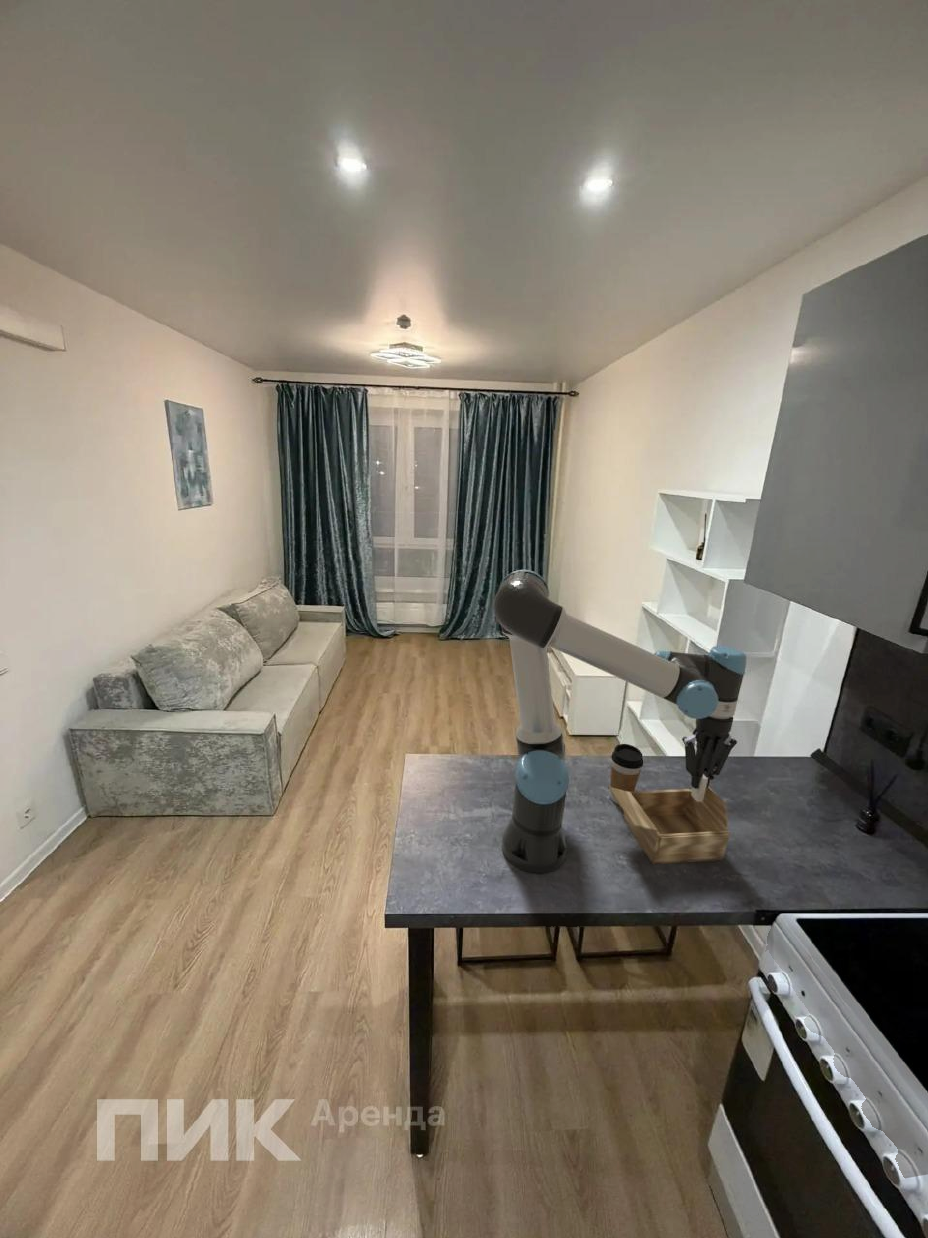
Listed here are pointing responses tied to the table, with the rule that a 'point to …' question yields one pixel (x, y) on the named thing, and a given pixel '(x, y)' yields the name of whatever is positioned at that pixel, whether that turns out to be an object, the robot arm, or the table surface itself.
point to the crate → (678, 828)
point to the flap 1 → (632, 809)
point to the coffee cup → (625, 768)
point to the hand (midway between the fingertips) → (696, 798)
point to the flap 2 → (715, 804)
